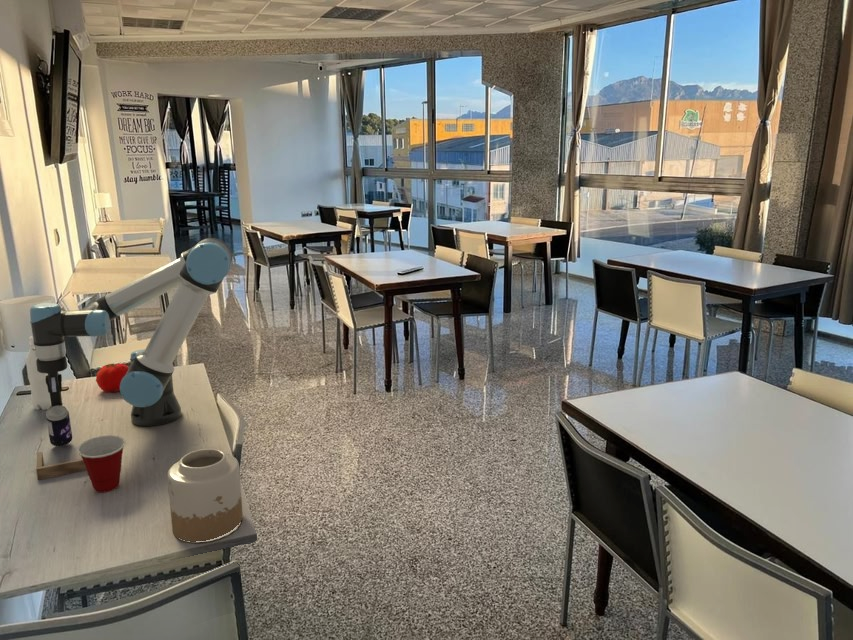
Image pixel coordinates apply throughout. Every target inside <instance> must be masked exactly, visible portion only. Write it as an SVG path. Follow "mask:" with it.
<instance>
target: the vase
mask: <svg viewBox="0 0 853 640" xmlns="http://www.w3.org/2000/svg"><path fill="white" fill-rule="evenodd" d="M240 469H241V468H240V463H239V461H238V459H237V458H236V457H235V456H233V455H231V454H228V453H225V452H224V451H223V450H220V449H217V448H203V449H197V450H193V451H191V452H188V453H186V454H185V455H183V456H182V457H181V458H180V460H178V461H176V463H174V464H172V465H171V466H170V468H169V469H168V471H167V486H168V499H169V509H170V510H169V511H170V518H171V527H172V528H171V529H172V533H173V535H174V537H175V538H177V537H178V538H180V539H182V540H185V541H190V542H196V541H206V540H210V539H214V538H217V537H219V536H222V535H224V534H226V533H228V532H230V531H231V530H233V529H234V528H235V527H236V526H237V525H239V523H240V522H241V520H242V521H243V518H242V516H243V502H242V501H243V500H242V499H243V498H242V489H241V487H242V486H241V471H240ZM243 517H244V516H243ZM178 538H177V539H178Z"/></svg>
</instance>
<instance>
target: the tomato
mask: <svg viewBox="0 0 853 640" xmlns="http://www.w3.org/2000/svg"><path fill="white" fill-rule="evenodd" d="M129 367H130V366H127V364H125V363H122V361H120V362H119V363H118V362H117V363H108V364H105V365H103V366H102V367H101V369H99V370H98V371H97V373H96V379H95V381H96V383H97V386H98V387H99V388H100V389H101V390H102V391H104V392H105V393H106V392H107V393H111V392H120V383H121V380H122V378H123V377H124V376H125V375H126V373H127V371H128V369H129Z"/></svg>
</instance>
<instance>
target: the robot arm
mask: <svg viewBox="0 0 853 640" xmlns="http://www.w3.org/2000/svg"><path fill="white" fill-rule="evenodd" d="M231 251H232V250H231V248H230V247H229V246H228V244H227V243H225V242H224V241H223V240H221V239H219V238H216V237H207V238H204V239H202V240H200V241H198V242H197V243H196V244H195V245H194V246H192V247H191V248H189V249H187V250H186V251H183V252H182V253H181V254H180V257H179V258H177V259H175V260H173V261H171V262H168V263H167V264H164V265H162V266H161V267H159V268H157V269H155V270H153V271H151V272H149V273H147V274H144V275H143V276H141V277H138V278H137V279H135V280H133V281H131V282H129V283H127V284H125V285H123V286H121V287H119V288H116V289H115V290H113V291H110V292H109V293H106V295H104V296H100V297H99V298H96V299H94V300H92V301H89V302H88V303H87V304H86V305H85V306H84V307H83V308H81V309H80V310H62V308H61V305H60V304H59V303H53V302H44V303H43V302H42V303H37V304H34V305H33V306H32V307H30V309H29V316H30V326H31V333H32V334H31V335H32V336H33V340H34V347H33V348H32V350H33V351H35V356H36V358H37V360H36V365H37V371H38V372H40V373H47V374H48V375H46V378H45V379H46V384H47V387H48V392H49V393H50V399H51V406H52V407H53V406H58V405H60V406H64V405H63V404H64V403H63V399H62V391H63V388H62V387H63V386H62V382H63V381H62V380H63V378H62V373H59V372H63V371H65V370H66V369H67V368H68V360H67V356H66V354H67V351H66V350H67V349H66V342H65V338H67V337H68V338H69V337H70V338H73V337H74V338H75V337H76V338H77V337H99V336H106V335H108V334H109V332H110V328H111V326H110V325H111V321H113V320H115V319H118V317H120V316H122V315H124V314H126V313H128V312H130V311H132V310H134V309H136V308H138V307H140V306H142V305H144V304H146V303H148V302H150V301H153V299H154V300H155V299H156V298H158V297H160V296H162V295H164V294H166V293H167V292H168V293H169V291H172V290H174V289H175V288H177V289H176V290H175V293H174V294H173V296H172V298H171V300H170V302H169V304H168V306H167V308H166V310H165V311H164V313H163V315H162V317H161V319H160V321H159V323H158V324H157V327H156V328H155V331H153V334H152V336H151V337H150V340H149V342H148V343H147V346H146V348H145V349H139V350H134V351H132V352H131V353H130V358H129V361H130V366H128V367H129V369H128V371H127V373H126V375H125V376H124V377H123V378H122V380H121V383H120V390H119V392H120V396H121V397H122V399H123V400H124V401H125V402H126V403H127V404H129V405H130V406H132V407H131V412H130V421H131V423H132V424H134V425H135V426H136V425H137V426H139V427H155V426H160V425H165V424H168V423H172V422H174V421H176V420H178V419H179V418H180V417H181V416H182V408H181V405H180V403H179V401H178V399H177V396H176V395H175V392H174V383H173V373H175V366H174V364H173V363H174V360H175V359H176V358H177V355H178V353H179V351H180V350H181V348H182V345H183V344H184V342H185V340H186V338H187V337H188V335H189V333H190V331H191V329H192V327H193V325H194V324H195V321H196V320H197V319H198V316H199V314H200V312H201V310H202V309H203V306H204V305H205V302H206V301H207V300H208V298H209V296H210V295H213V294H216V293H217V292H218V290H219V288H220V286H221V285H222V282H223V281H224V279H225V277H227V275H228V274H229V271H230V268H231V265H232V261H233V260H232V257H233V255H232V252H231ZM180 415H181V416H180ZM178 417H179V418H178ZM177 418H178V419H177ZM175 419H176V420H175Z"/></svg>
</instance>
